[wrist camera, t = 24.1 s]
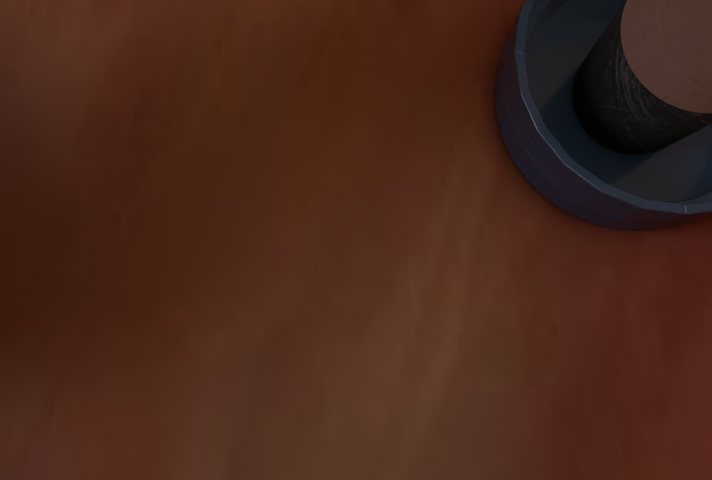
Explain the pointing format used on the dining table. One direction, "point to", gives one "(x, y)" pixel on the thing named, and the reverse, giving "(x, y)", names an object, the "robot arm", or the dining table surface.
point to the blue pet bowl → (571, 141)
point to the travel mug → (648, 76)
